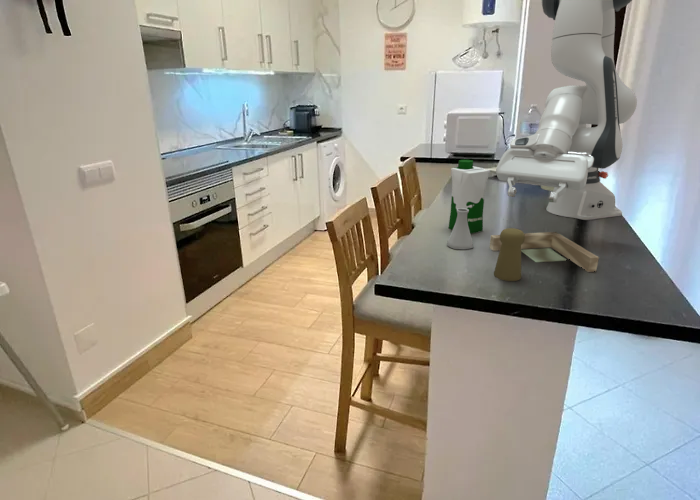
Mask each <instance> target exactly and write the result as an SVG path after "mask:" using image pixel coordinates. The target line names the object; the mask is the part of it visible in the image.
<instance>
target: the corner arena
mask: <svg viewBox="0 0 700 500" xmlns="http://www.w3.org/2000/svg"><path fill="white" fill-rule="evenodd" d="M524 234H525V240H524V243H523V244H522V245H521V253H523V254H524V255H526V257H527V258H529V259H530V260H532V261H533V262H534V263H546V262H547V263H548V262H549V263H550V262H567V261H566V260H567V259H568V260H569V259H570V260H569V261H571V262H573V263H574V264H575V265H577V266H578V267H580V268H581V267H582V268H581V269H582V270H584V269H585V270H584V271H586V272H587V273H589V272H590V273H593V272H594V271H595V272H597V268H598V264H599V259H600V257H599V256H597V255H596V254H594V253H593V252H592V251H589V250H587V249H586V248H584V247H582V246H581V245H579V244H577V243H576V242H574V241H572V240H570V239H569V238H567V237H565V236H564V235H562V234H560V233H558V232H557V231H550V232H549V231H546V232H543V231H542V232H527V233H524ZM501 244H502V243H501V241H500V234H493V235H492V234H491V235H490V241H489V249H490V250H491V251H494V252H495V251H500V248H501ZM554 250H555V251H554ZM561 255H562V256H561Z"/></svg>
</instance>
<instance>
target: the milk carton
mask: <svg viewBox="0 0 700 500" xmlns="http://www.w3.org/2000/svg"><path fill="white" fill-rule="evenodd" d="M450 170H451V183H452V184H451V187H452V188H451V202H450V213H449V220H448V227H447V228H448V229H449V230H451V231H452V230H453V228H454V225H455V223H456V219H457V214H458V213H457V209H459V208H466V209H468V210H469V212H468V214H467V221H468V227H469V231H470V234H471V235H472V234H475V233H480V232H483V231H484V230H483V228H484V226H483V225H484V223H483V222H484V221H483V219H484V217H483V215H484V207H485V206H484V204H485V196H486V186H487V182H488V179H489V176H490V173H491V170H490V169H485V168H483V167H479V166H474V160H473V159H459V160H458V166H457V167H452V168H450Z"/></svg>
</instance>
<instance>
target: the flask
mask: <svg viewBox="0 0 700 500" xmlns="http://www.w3.org/2000/svg"><path fill="white" fill-rule="evenodd" d="M468 212H469V210H468V209H466V208H459V209H457V213H458V214H457V219H456V223H455V225H454V228H453V230H451V233H450V235H449V237H448V239H447V242H446V246H447V247H449V248H451V249H454V250H469V249H473V248H474V242H473V238H472V234H470V231H469V227H468V221H467V214H468Z"/></svg>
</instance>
